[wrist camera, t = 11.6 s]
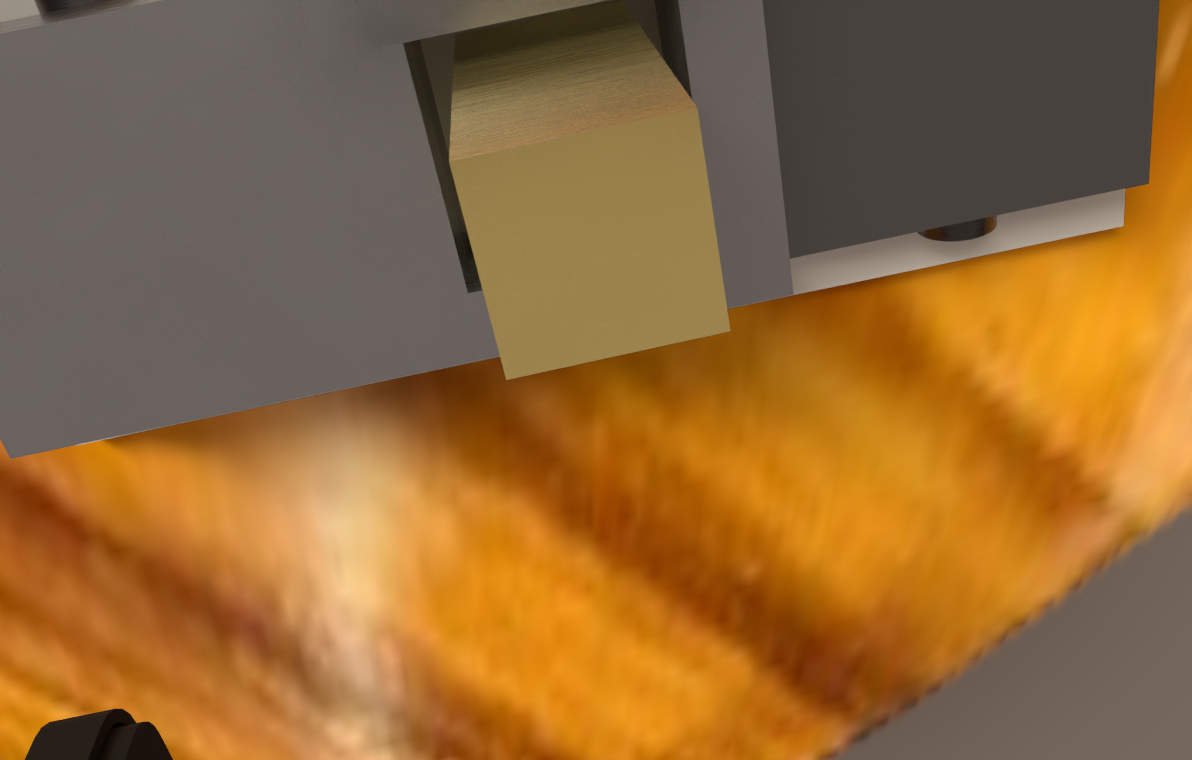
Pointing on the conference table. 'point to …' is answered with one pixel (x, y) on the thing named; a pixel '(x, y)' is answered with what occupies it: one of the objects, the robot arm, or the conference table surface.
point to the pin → (582, 190)
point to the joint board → (820, 268)
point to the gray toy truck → (426, 186)
